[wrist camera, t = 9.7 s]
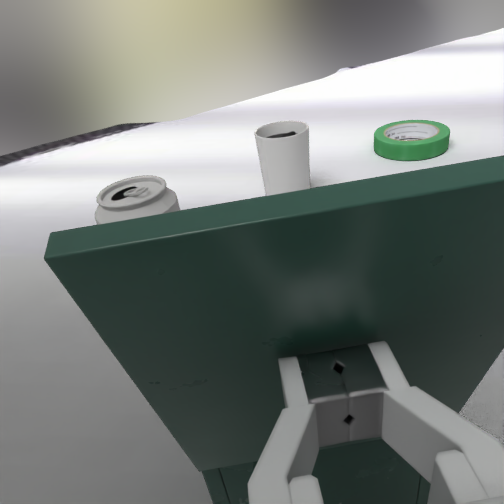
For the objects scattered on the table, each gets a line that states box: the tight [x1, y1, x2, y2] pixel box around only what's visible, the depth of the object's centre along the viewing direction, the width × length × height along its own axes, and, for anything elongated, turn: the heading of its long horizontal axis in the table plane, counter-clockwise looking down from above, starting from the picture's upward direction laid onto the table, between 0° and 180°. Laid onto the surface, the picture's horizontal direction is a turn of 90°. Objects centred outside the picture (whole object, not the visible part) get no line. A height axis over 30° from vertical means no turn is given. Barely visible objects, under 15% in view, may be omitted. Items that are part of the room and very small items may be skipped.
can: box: [95, 176, 180, 225], centre depth 41 cm, size 8×8×12 cm
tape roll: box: [374, 120, 450, 161], centre depth 67 cm, size 11×11×3 cm
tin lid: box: [44, 156, 504, 471], centre depth 13 cm, size 14×11×1 cm
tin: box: [202, 439, 431, 504], centre depth 27 cm, size 14×11×8 cm
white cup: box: [255, 121, 310, 196], centre depth 55 cm, size 7×7×10 cm
